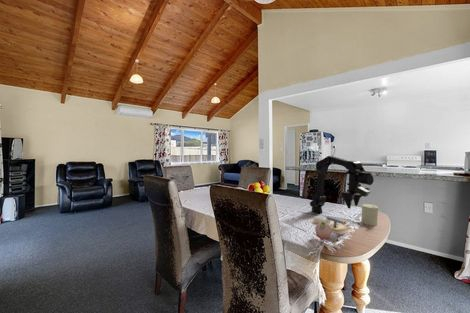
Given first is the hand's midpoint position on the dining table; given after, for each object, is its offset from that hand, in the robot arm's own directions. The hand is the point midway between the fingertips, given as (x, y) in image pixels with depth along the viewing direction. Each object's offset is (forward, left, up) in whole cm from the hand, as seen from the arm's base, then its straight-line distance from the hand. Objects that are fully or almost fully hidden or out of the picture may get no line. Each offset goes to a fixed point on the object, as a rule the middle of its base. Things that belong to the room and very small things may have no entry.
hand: (352, 207), depth 134 cm
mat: (-18, -22, -14) cm, 32 cm away
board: (-8, -9, -14) cm, 19 cm away
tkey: (-5, -9, -12) cm, 16 cm away
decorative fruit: (-1, -28, -14) cm, 32 cm away
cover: (-14, -9, -12) cm, 21 cm away
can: (+2, +20, -14) cm, 24 cm away
